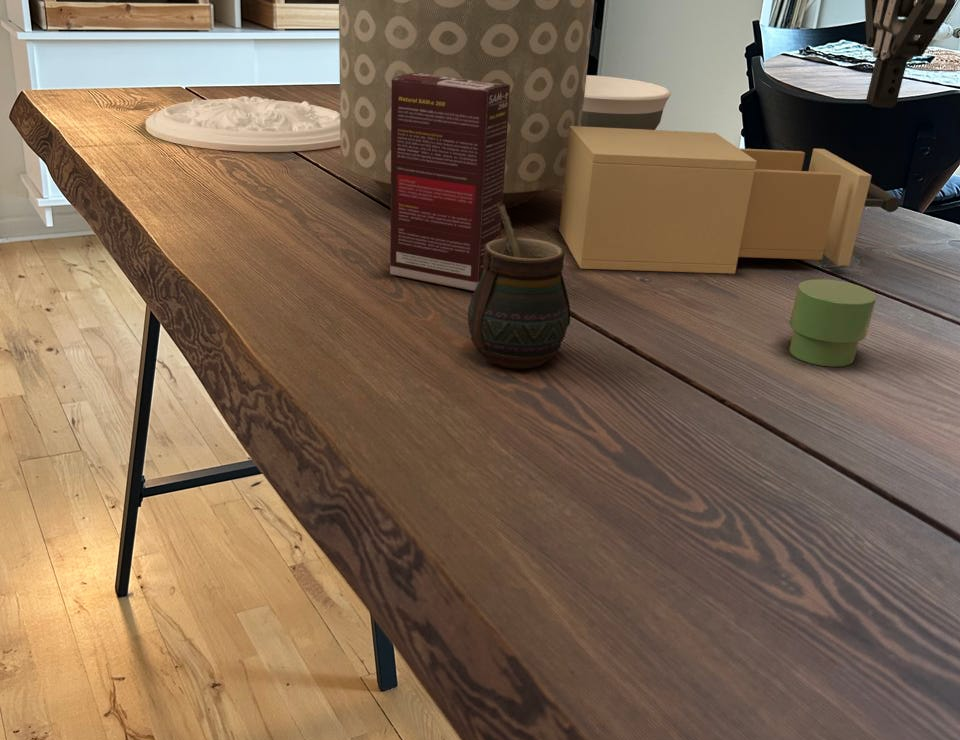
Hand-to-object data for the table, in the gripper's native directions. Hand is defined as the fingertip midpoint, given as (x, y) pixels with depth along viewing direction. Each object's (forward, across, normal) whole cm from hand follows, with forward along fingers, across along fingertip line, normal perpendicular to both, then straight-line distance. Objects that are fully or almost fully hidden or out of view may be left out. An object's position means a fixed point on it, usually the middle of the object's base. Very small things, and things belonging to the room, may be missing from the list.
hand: (880, 105), depth 91 cm
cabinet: (+15, +3, +19) cm, 24 cm away
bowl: (+15, +51, +15) cm, 55 cm away
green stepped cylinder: (+15, -23, +10) cm, 29 cm away
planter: (+15, +19, +36) cm, 43 cm away
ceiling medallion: (+15, +53, +61) cm, 83 cm away
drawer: (+14, +3, +5) cm, 15 cm away
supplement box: (+15, -7, +39) cm, 42 cm away
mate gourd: (+15, -25, +34) cm, 45 cm away
